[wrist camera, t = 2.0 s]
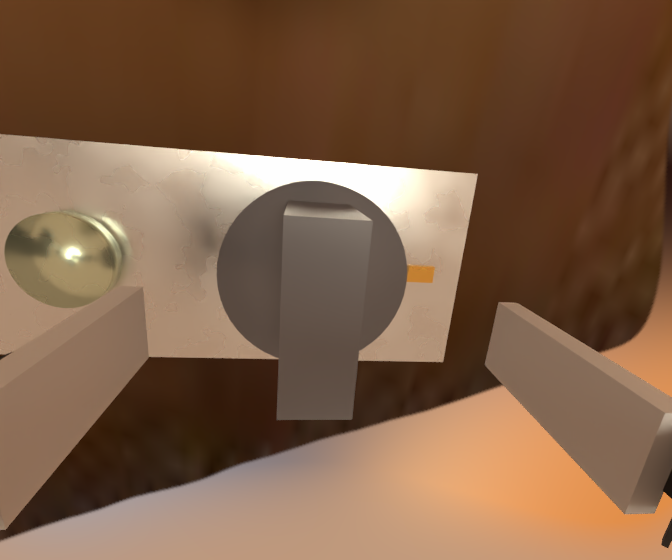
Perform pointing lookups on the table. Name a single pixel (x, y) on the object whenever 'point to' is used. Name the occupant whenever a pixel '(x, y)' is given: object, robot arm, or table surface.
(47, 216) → the base plate
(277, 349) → the wing knob
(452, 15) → the table surface
